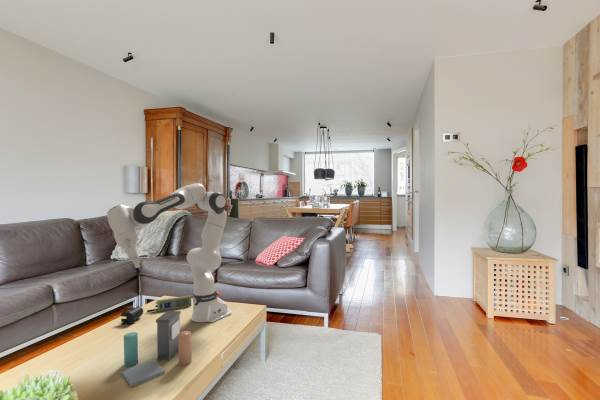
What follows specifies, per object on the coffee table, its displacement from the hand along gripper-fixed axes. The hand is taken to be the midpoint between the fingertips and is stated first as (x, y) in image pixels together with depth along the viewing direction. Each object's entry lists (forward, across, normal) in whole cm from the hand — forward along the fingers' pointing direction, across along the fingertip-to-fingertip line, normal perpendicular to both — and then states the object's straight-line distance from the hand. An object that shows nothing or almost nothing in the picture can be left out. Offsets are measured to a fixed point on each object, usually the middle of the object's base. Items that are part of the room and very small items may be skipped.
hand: (138, 267), depth 142 cm
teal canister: (+36, -8, +15) cm, 40 cm away
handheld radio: (+30, +52, -5) cm, 60 cm away
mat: (+39, -18, +11) cm, 44 cm away
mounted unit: (+40, -7, +1) cm, 41 cm away
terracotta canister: (+44, -16, -4) cm, 47 cm away
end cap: (+26, +42, +14) cm, 51 cm away
